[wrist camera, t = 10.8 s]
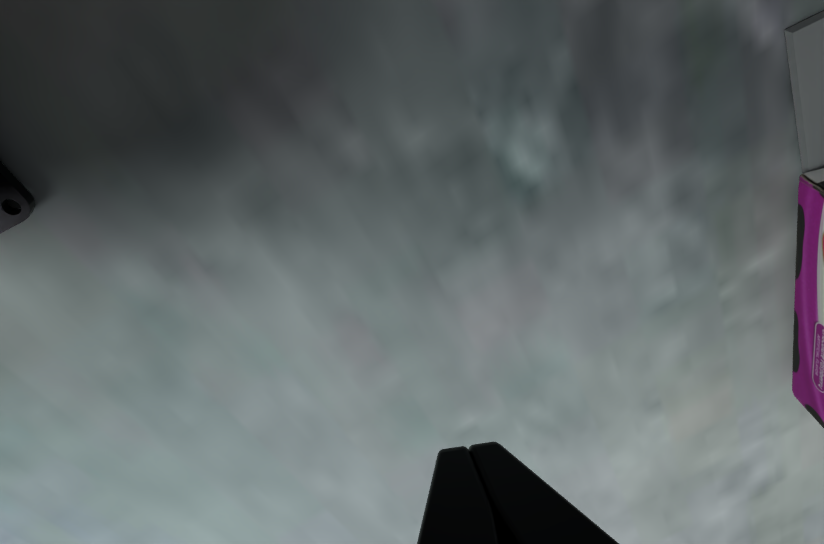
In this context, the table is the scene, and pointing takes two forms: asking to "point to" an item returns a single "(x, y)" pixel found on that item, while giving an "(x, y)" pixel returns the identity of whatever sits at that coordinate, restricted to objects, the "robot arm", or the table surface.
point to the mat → (808, 87)
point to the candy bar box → (810, 296)
